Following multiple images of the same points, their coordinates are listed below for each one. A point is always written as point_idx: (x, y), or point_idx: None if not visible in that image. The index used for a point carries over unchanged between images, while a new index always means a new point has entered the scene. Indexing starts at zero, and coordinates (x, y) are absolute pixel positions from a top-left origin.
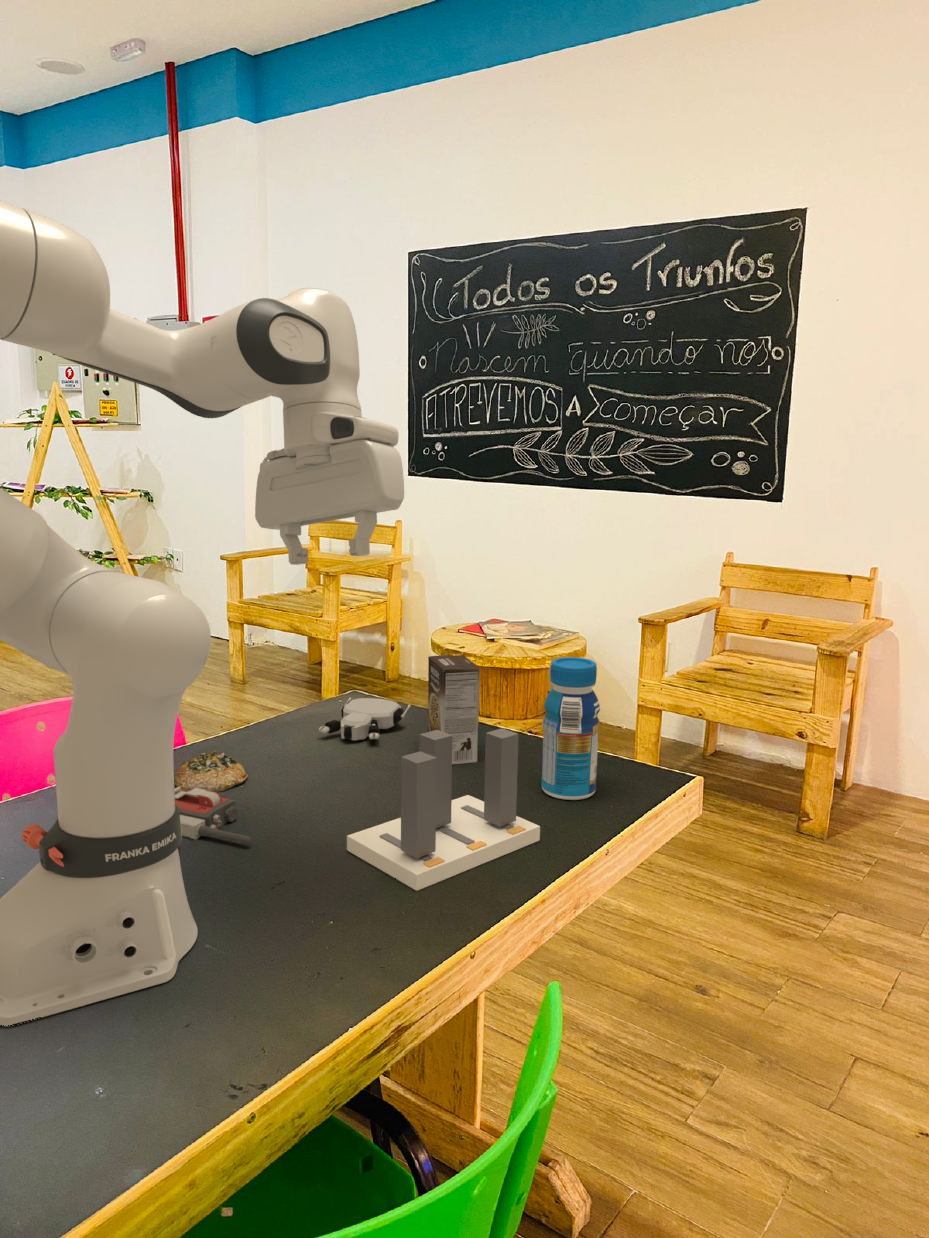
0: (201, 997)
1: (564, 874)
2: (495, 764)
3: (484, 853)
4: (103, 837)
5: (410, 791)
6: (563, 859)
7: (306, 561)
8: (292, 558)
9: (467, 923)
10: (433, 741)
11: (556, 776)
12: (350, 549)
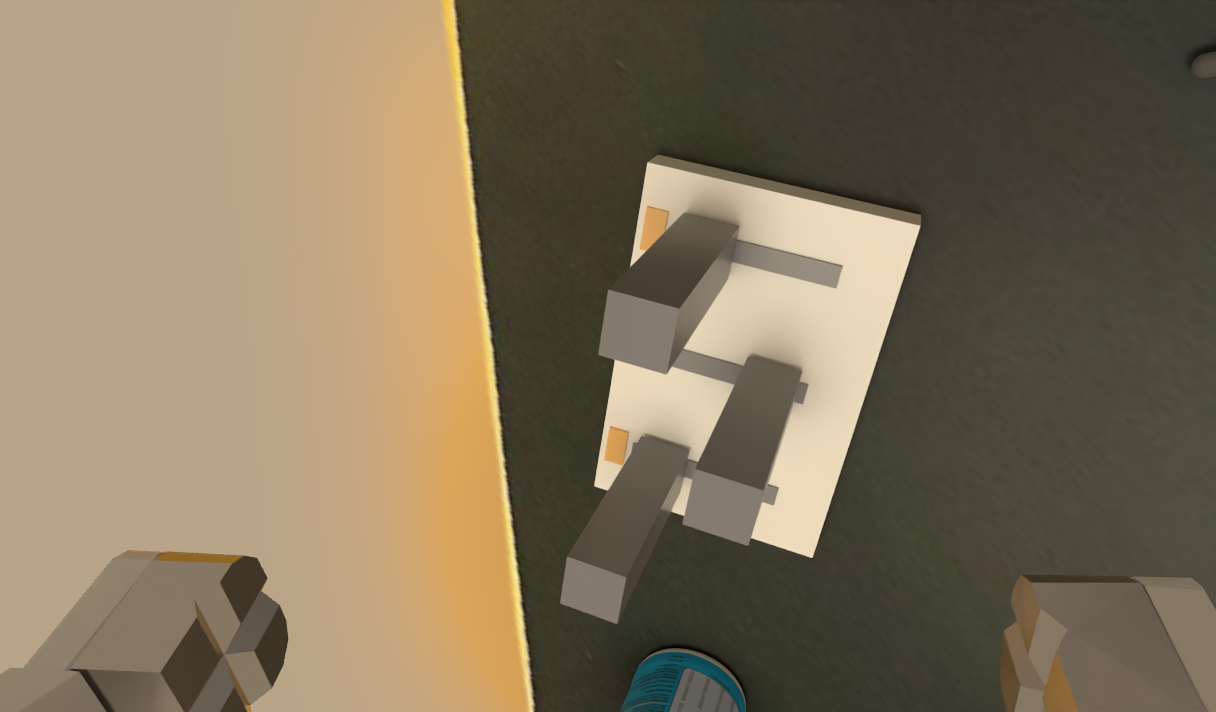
0: None
1: (493, 371)
2: (614, 519)
3: None
4: None
5: (662, 266)
6: (527, 422)
7: (1007, 673)
8: (1137, 607)
9: (505, 112)
10: (700, 467)
11: (675, 682)
12: (203, 582)
